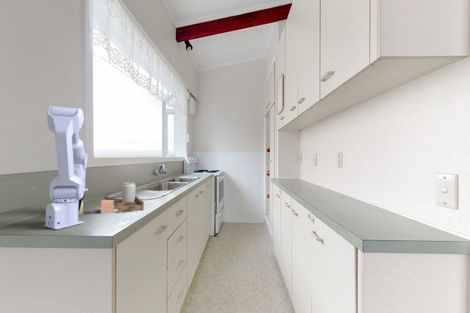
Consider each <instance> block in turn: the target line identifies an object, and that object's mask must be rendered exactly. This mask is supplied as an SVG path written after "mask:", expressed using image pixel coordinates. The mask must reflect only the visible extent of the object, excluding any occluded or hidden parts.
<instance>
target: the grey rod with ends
mask: <svg viewBox="0 0 470 313" xmlns="http://www.w3.org/2000/svg"><path fill="white" fill-rule="evenodd" d="M113 200H114V199H106V200H105V199H104V200H103V199H102V200H100V209H93V210H84V199H83V200H82V203H81V208H80V211H78V216H80V215H81V216H82V215H83V214H86V215H87V214H98V213H99V214H112V213H114V206H115V205H114V201H113ZM83 210H84V212H83Z"/></svg>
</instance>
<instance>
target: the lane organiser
mask: <svg viewBox="0 0 470 313" xmlns="http://www.w3.org/2000/svg"><path fill="white" fill-rule="evenodd" d="M112 200H113V201H114V206H115V209H116V210H117V213H129V212H138V210H140V211H144V207H145V206H144V205H145V202H144V201H143V200H142V199H140V197H139V196H137V195H135V202H125V203H122V199H112Z"/></svg>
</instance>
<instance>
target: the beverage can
mask: <svg viewBox="0 0 470 313" xmlns="http://www.w3.org/2000/svg"><path fill="white" fill-rule="evenodd" d="M121 188H122V190H121V200H122V203H125V202H135V196H136V189H137V188H136V183H135V182H123V183H122V187H121Z"/></svg>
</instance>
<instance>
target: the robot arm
mask: <svg viewBox="0 0 470 313" xmlns="http://www.w3.org/2000/svg"><path fill="white" fill-rule="evenodd" d="M84 114H85V113H84V110H83V109H82V108H79V107H77V108H76V107H66V106H63V107H62V106H56V105H49V107H48V108H47V112H46V121H47V122H46V123H47V127H48V130H49V131H50V132H53V134H54V138H55V147H56V150H55V151H56V159H57V171H58V176H57V177H55V178H53V179H52V181H50V183H49V192H48V195H49V199H50V200H51V201H53V202H51V203H49V204H47V206H46V207H45V219H44V220H45V223H44V225H43V227H46V228H49V229H53V230H60V229H61V230H62V229H63V228H69V227H73V226H77V225H81V224H84V221H82V220H79V215H78V211H80V208H81V203H82V200H83V201H84V199H85V196H86V194H85V192H86V191H89V188H86V171H87V170H86V169H87V166H88V165H87V164H88V159H89V157H88V153H86V152H85V146H84V142H83V140H81V139H80V135H79V132H80V131H81V128H82V127H83V126H82V125H83V124H84V121H85V117H84Z"/></svg>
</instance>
